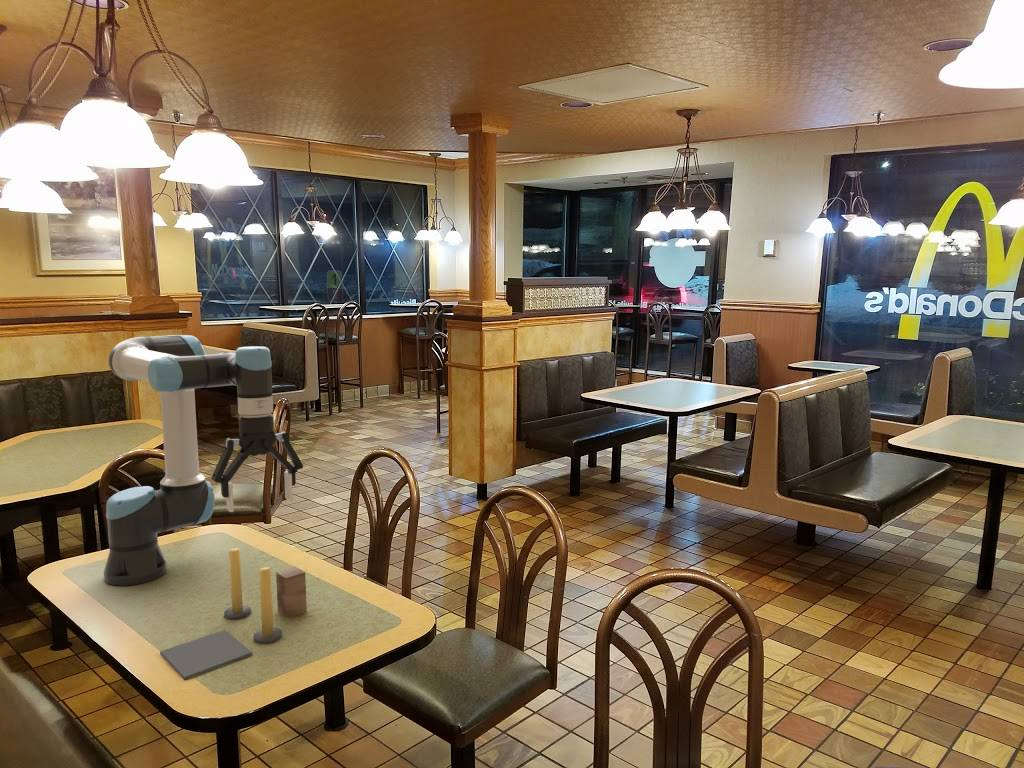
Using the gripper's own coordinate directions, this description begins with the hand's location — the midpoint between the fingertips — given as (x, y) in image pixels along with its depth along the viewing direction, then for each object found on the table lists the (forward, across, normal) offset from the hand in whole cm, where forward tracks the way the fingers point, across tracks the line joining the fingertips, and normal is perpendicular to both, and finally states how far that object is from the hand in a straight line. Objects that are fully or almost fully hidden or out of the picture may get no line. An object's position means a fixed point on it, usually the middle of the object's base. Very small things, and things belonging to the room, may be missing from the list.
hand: (260, 504), depth 165 cm
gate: (+28, -4, -1) cm, 28 cm away
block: (+28, +6, 0) cm, 29 cm away
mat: (+28, -16, -8) cm, 33 cm away
